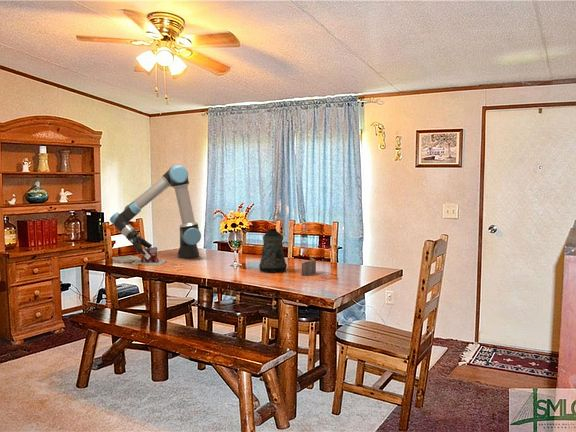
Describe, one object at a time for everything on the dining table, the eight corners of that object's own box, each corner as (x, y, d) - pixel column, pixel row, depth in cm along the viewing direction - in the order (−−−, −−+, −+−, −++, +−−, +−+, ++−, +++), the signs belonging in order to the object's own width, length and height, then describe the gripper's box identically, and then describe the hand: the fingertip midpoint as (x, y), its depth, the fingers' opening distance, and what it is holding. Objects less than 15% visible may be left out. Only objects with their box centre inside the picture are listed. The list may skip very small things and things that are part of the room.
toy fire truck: (138, 264, 324) (138, 248, 323) (153, 262, 334) (152, 246, 333) (146, 265, 320) (145, 249, 319) (160, 262, 331) (160, 247, 330)
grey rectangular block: (311, 273, 299) (311, 256, 298) (315, 273, 297) (315, 257, 297) (301, 276, 290) (301, 259, 289) (305, 276, 288) (305, 259, 287)
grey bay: (166, 262, 333) (166, 259, 333) (159, 265, 320) (159, 263, 320) (139, 261, 334) (139, 259, 334) (132, 265, 321) (132, 262, 321)
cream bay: (112, 259, 343) (112, 257, 343) (130, 257, 352) (130, 255, 352) (122, 262, 330) (122, 260, 329) (141, 260, 338) (141, 258, 338)
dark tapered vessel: (273, 274, 292) (273, 231, 291) (250, 270, 305) (250, 229, 303) (292, 270, 305) (292, 229, 303) (268, 266, 317) (268, 227, 316)
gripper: (133, 235, 340) (155, 257, 339) (118, 239, 315) (141, 263, 315) (140, 227, 339) (163, 249, 339) (126, 231, 314) (150, 255, 314)
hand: (152, 256), depth 327 cm, fingers open, 13 cm apart
